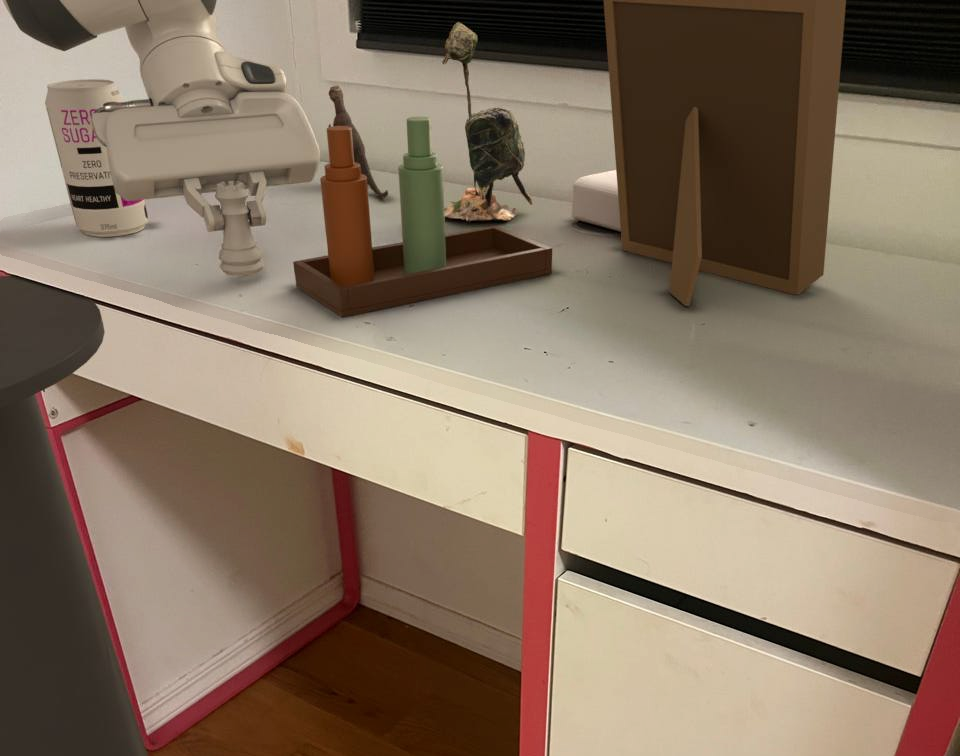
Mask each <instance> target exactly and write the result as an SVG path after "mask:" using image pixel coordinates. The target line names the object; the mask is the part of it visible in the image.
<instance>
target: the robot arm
mask: <svg viewBox="0 0 960 756" xmlns="http://www.w3.org/2000/svg"><path fill="white" fill-rule="evenodd" d="M2 2H3V4H4V6H5V8H6V10H7V12H8V14H9V15H10V17H11V18H12V20H13V21H14V22H15V24H16V26H17V27H18V30H20V31H21V32H22V33H23V34H25V35H27V36H28V37H30V38H32V39H33V40H35V41H37V42H39V43H41V44H43V45H46V46H48V47H49V48H53V49H55V50H59V51H62V52H66V51H67V52H68V50H71V49H74V48H76V47H78V46H80V45H82V44H83V45H84V44H85V43H87V42H90V41H92V40H94V39H97V38H98V36H100V35H103V34H106V33H110V32H113V31H116V30H119V29H123V28H124V29H125V32H126V35H127V38H128V40H129V43H130V45H131V47H132V48H133V51H134V52H135V53H136V55H137V56H138V59H139V72H140V78H141V80H142V83H143V84H142V85H143V87H144V89H145V93H146V96H147V98H146V99H145V98H144V99H133V100H132V99H131V100H128V101H124V102H107V103H103V107H101V108H99V109H97V110H96V111H95V112H94V113H93V114H92V117H91V123H92V126H93V130H94V133H95V136H96V138H97V139H98V141H99V142H100V143H101V144H102V145H103V146H105V147H106V148H107V153H108V162H109V168H110V173H111V178H112V182H113V186H114V189H115V192H116V193H117V194H118V195H120V196H121V197H122V198H123V199H125V200H127V201H135V200H152V199H153V200H154V199H161V198H172V197H182V196H183V197H184V200H185V202H186V204H187V206H189V207H190V208H191V209H192V210H193V211H194V212H196V214H198V215H199V216H200V218H203V221H204V224H205V227H206V230H207V232H208V233H211V232H219V231H220V232H221V231H223V230H224V227H223V226H224V218H223V215H222V214H221V205H220V204H213V205H212V204H211V203H209V201H207V200H206V199H205V197H204V196H203V195H202V194H210V193H216V191H217V184H220V183H219V182H225V186H229V183H228V181H234V186H235V185H237V183H236V182H237V181H241V182H242V183H244V188H245V189H246V190H248V193H249V195H250V196H251V197H255V198H254V200H251V201H246V202H245V205H246V208H247V209H248V210H249V212H248V214H247V216H248V222H249V226H250V228H253V227H262V226H265V225H266V222H267V214H266V210H265V207H264V204H263V202H264V198H265V194H266V189H267V187H275V186H276V187H277V186H284V185H285V186H286V185H294V184H304V183H305V184H306V183H310V182H312V181H313V180H314V179H315V177H316V175H317V174H318V173H317V172H318V170H319V167H320V162H321V150H320V146H319V143H318V140H317V138H316V136H315V133H314V130H313V128H312V126H311V123H310V122H309V119H308V117H307V115H306V113H305V111H304V109H303V107H302V106H301V104H300V103H299V102H298V101H297V100H296V98H294V97H293V96H292V95H290V94H289V93H287V85H288V84H287V83H288V82H287V77H286V75H285V72H284V71H283V70H282V69H281V68H280V67H278V66H276V65H271V64H268V63H267V64H266V63H262V62H258V61H253V60H250V59H247V58H243V57H240V56H238V55H234V54H232V53H229V52H228V51H227V48H225V45H223V43H222V42H221V40H220V38H219V33H218V32H219V30H218V29H219V28H218V20H217V17H216V14H215V8H216V6H217V0H2Z"/></svg>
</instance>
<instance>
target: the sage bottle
mask: <svg viewBox="0 0 960 756" xmlns="http://www.w3.org/2000/svg"><path fill="white" fill-rule="evenodd" d="M405 121H406V135H407V136H406V137H407V139H406V140H407V152H406V153H403V155H402V161H403V162H402V164H400V165H398V168H397V169H398V185H399V186H398V187H399V203H400V218H401V219H400V220H401V221H400V222H401V234H402V235H401V237H402V242H403V257H404V274H410V273H415V272H420V271H425V270H430V269H436V268H441V267H446V247H445V234H446V220H445V219H446V216H444V209H445V190H444V189H445V187H444V185H445V184H444V166H443V164H441V163H439V162H438V154H437V153H436V152H434V151H432V150H433V148H432V125H431V124H432V123H431V117H428V116H411V117H408V118H406V120H405Z"/></svg>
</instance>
